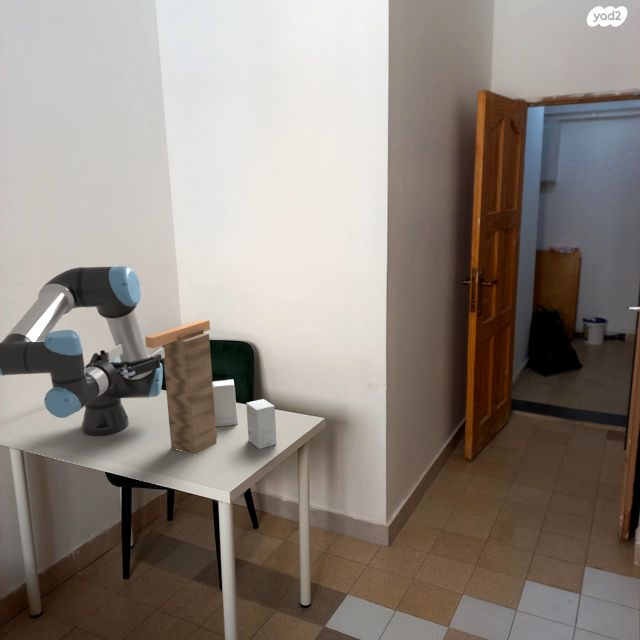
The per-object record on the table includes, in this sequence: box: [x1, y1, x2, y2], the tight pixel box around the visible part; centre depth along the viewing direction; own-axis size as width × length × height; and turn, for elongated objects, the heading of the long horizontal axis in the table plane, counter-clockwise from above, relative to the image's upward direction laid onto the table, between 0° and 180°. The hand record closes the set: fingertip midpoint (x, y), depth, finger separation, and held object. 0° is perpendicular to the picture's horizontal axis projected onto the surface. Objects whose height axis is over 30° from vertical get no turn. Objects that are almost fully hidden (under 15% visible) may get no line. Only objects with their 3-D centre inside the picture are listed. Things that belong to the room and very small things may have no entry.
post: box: [161, 329, 218, 455], centre depth 186 cm, size 10×10×37 cm
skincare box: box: [212, 378, 239, 427], centre depth 206 cm, size 8×6×15 cm
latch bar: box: [144, 319, 211, 349], centre depth 179 cm, size 3×24×3 cm, turn 149°
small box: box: [246, 398, 277, 450], centre depth 189 cm, size 8×6×13 cm
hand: (142, 350), depth 170 cm, fingers open, 13 cm apart
